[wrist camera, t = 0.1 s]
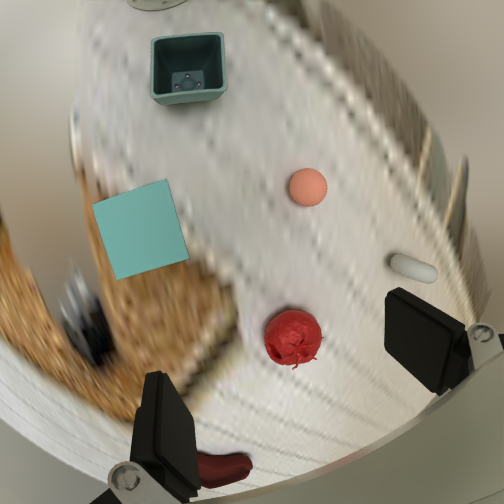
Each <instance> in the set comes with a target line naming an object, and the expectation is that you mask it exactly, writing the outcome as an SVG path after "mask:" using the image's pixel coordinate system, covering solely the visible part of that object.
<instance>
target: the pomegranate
mask: <svg viewBox="0 0 504 504" xmlns="http://www.w3.org/2000/svg"><path fill="white" fill-rule="evenodd" d="M322 338H324V337H322V334H321V328H320V326H319V324H318V323H317V321H316V319H315V318H314V316H312V315H311V314H309V313H307V312H304V311H299V310H287V311H284V312H282V313H280V314H279V315H277V316H276V317H275V318H274V319H273V320H271V321H270V323H269V324H268V326H267V328H266V330H265V334H264V342H265V346H266V349H267V353H268V355H269V356H270V358H271V359H272V360H273V361H275V362H276V363H278V364H281V365H284V364H285V365H292V364H296V366H295V367H293V368H292V370H293V369H294V368H297V367H298V364H302V363H307V362H309V361H310V360H311V359H315V360H317V359H316V358H315V357H314V356H315V355H316V353H317V351H318V349H319V347H320V345H321V341H322Z"/></svg>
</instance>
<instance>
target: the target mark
mask: <svg viewBox="0 0 504 504" xmlns="http://www.w3.org/2000/svg"><path fill="white" fill-rule="evenodd" d="M92 206H93V210H94V213H95V217H96V220H97V224H98V227H99V230H100V233H101V237H102V240H103V243H104V246H105V249H106V252H107V255H108V257H109V260H110V263H111V266H112V268H113V271H114V274H115V276H116V279H117V280H119V279H122V278H125V277H129V276H132V275H135V274H139V273H142V272H145V271H149V270H152V269H156V268H159V267H162V266H166V265H169V264H173V263H176V262H179V261H183V260H186V259H189V255H188V252H187V249H186V245H185V242H184V239H183V235H182V232H181V229H180V225H179V222H178V218H177V215H176V211H175V207H174V204H173V200H172V196H171V193H170V189H169V185H168V181H167V179H165V180H162V181H159V182H156V183H152V184H149V185H146V186H143V187H140V188H137V189H134V190H131V191H128V192H126V193H123V194H120V195H117V196H114V197H112V198H109V199H106V200H103V201H101V202H98V203H96V204H93V205H92Z"/></svg>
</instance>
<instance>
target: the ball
mask: <svg viewBox="0 0 504 504" xmlns="http://www.w3.org/2000/svg"><path fill="white" fill-rule="evenodd" d="M289 189H290V194H291V196H292V198H293V199H294V200H295V201H296V202H297V203H299V204H301V205H303V206H314V205H317V204H319V203H320V202H321V201H322V200H323V199H324V198H325V196H326V193H327V182H326V180H325V178H324V176H323V175H322V174H321V173H320V172H318V171H316V170H314V169H308V168H307V169H302V170H299V171H298V172H296V173H295V174H294V175H293V177H292V178H291V181H290V185H289Z"/></svg>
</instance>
